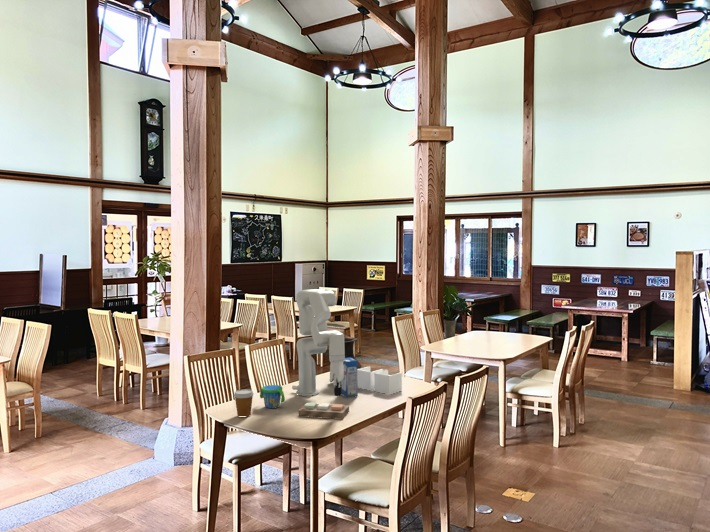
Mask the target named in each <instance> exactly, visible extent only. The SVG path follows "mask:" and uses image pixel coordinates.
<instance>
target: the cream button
mask: <svg viewBox="0 0 710 532" xmlns="http://www.w3.org/2000/svg"><path fill="white" fill-rule="evenodd" d="M318 404H319V405H318V409H321V410H328V409H329V408H330V405H331V403H326V402H325V403H324V402H323V403H318Z"/></svg>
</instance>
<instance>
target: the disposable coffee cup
mask: <svg viewBox="0 0 710 532" xmlns="http://www.w3.org/2000/svg"><path fill="white" fill-rule="evenodd" d="M233 396H234V400H235V401H234V402H235V407H236V413H237V417H238V416H249V415H252V407H253V406H252V405H253V397H254V392H253V389H247V388H245V389H237V390H235V391H234V394H233ZM249 417H250V416H249Z"/></svg>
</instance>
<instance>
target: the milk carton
mask: <svg viewBox="0 0 710 532" xmlns="http://www.w3.org/2000/svg"><path fill="white" fill-rule="evenodd" d="M343 366H344V378H343V380H341V396H343V397H345V398H346V397H347V399H349V398H348V397H351V398H356V397H355V396H358V390H359V388H358V387H357V360H355V359H353V358H351V357H350V358H345V361H344V362H343ZM358 397H359V396H358Z"/></svg>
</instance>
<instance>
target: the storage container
mask: <svg viewBox="0 0 710 532" xmlns="http://www.w3.org/2000/svg"><path fill="white" fill-rule="evenodd" d="M371 368H372V367H371V366H366V367H365V366H364V367H361V369H357V387H358V389H360V388H362V389H361V390H364V389H367V390H366V391H369V390H372V391H374V392H375V391H376V392H375V393H377V392H380V393H379V394H382V393H385V394H384V395H386V394H389V395H388V396H391V395H390V394H392V395H394V394H393V393H395V394H397V393H396V392H398V393H400V392H399V391H401V392H403V386H402V385H403V380H402V379H403V378H402V377H403V376H402V375H403V374H402V371H399V372H398V373H393V374H389V369H384V368H380V369H377V370H373V371H371ZM374 389H375V390H374Z"/></svg>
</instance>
